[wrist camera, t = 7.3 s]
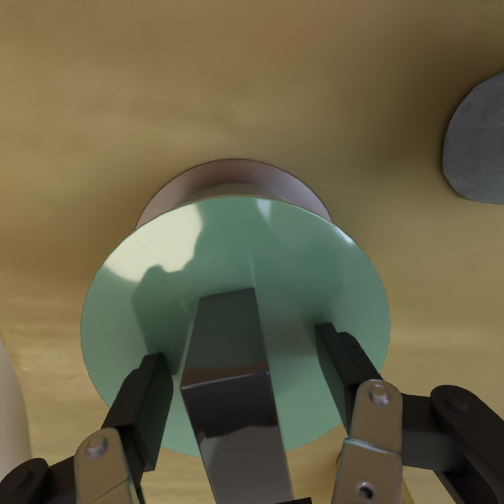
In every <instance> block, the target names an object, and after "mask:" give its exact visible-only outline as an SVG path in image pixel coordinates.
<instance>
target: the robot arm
mask: <svg viewBox="0 0 504 504" xmlns="http://www.w3.org/2000/svg"><path fill="white" fill-rule="evenodd" d="M314 331H315V340H316V349H317V356H318V361H319V365H320V368H321V370H322V373H323V375H324V378H325V380H326V383H327V385H328V388H329V390H330V392H331V395H332V397H333V400H334V402H335V405H336V407H337V410H338V412H339V415H340V417H341V420H342V422H343V424H344V427H345V429H346V432H347V434H348V439H347V438H345V439H344V442H343V446H342V451H341V456H340V461H339V466H338V471H337V476H336V481H335V486H334V490H333V495H332V500H331V504H402V465H404V466H410V467H417V468H423V469H429V470H433V471H434V473H435V474H436V476H437V477H438V478H439V480H440V481H441V483H442V484H443V486H444V487H445V488H446V490H447V491H448V493H449V494H450V495H451V497H452V498H453V500H454V501H455V503H456V504H504V421H503V420H502V419H501V418H500V417H499V416H498V415H497V414H496V413H495V412H494V411H492V410H491V409H490V408H489V407H488V406H487V405H486V404H485V403H484V402H482V401H481V400H480V399H479V398H478V397H477V396H476V395H474V394H473V393H471V392H470V391H468V390H466V389H464V388H461V387H458V386H453V385H441V386H438V387H436V388H434V389H433V390H432V392H431V394H430V397H426V396H415V395H407V394H403V393H401V392H400V391H399V390H398V389H397V388H396V387H395V386H394V385H392V384H390V383H388V382H386V381H384V380H383V379H382V377H381V376H380V374H379V373H378V371H377V370H376V368H375V367H374V365H373V364H372V362H371V360H370V359H369V357H368V356H367V354H365V351H364V350H363V348H361V345H360V344H359V342H358V341H357V339H356V338H355V337H354V336H352V335H351V334H349V333H348V332H346V331H344V332H339V333H338V332H337V331H336V329H335V327H334V326H333V324H332V322H327V323H322V324H316V325H314ZM173 393H174V384H173V379H172V376H171V373H170V370H169V367H168V363H167V360H166V357H165V355H164V353H163V352H159V353H154V354H148V355H145V356H144V357H143V359H142V362H141V364H140V366H139V368H138V369H133V370H132V371H131V372H130V374H129V375H128V376H127V377H126V378H125V379H124V381H123V383H122V385H121V387H120V391H118V394H117V396H116V399H115V400H114V402H113V404H112V406H111V408H110V410H109V412H108V414H107V416H106V419H105V421H104V423H103V425H102V427H101V429H100V430H98V431H96V432H94V433H93V434H91V435H90V436H88V437H87V438H86V439H85V440H84V441H83V442H82V443H81V444H80V446H79V447H78V449H77V451H76V453H75V455H74V456H72V457H69V458H67V459H65V460H63V461H61V462H58V463H56V464H54V465H52V466H50V467H49V466H48V464H47V462H46V461H45V460H44V459H43V458H34V459H31V460H28V461H26V462H24V463H22V464H20V465H19V466H17V467H16V468H15V469H13V470H12V471H11V472H10V473H9V474H7V475H6V476H5V478H4V479H3V480H2V481H1V482H0V504H147V503H146V499H145V495H144V492H143V488H142V486H141V483H140V482H141V478H142V475H143V472H149V471H154V470H155V466H156V462H157V458H158V454H159V450H160V446H161V442H162V438H163V434H164V430H165V426H166V422H167V418H168V414H169V410H170V406H171V402H172V398H173ZM276 504H312V501H311V497H308V498H303V499H297V500H292V501H286V502H281V503H276Z"/></svg>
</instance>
